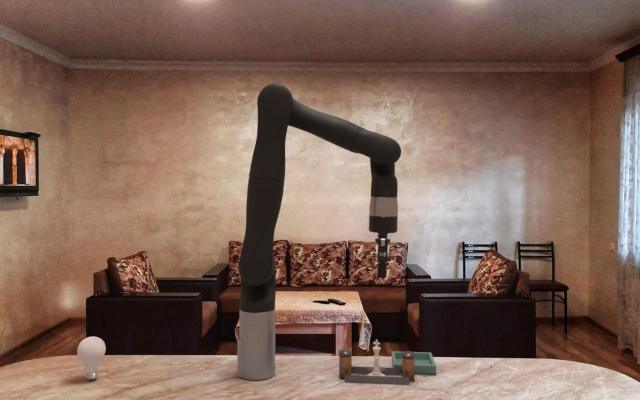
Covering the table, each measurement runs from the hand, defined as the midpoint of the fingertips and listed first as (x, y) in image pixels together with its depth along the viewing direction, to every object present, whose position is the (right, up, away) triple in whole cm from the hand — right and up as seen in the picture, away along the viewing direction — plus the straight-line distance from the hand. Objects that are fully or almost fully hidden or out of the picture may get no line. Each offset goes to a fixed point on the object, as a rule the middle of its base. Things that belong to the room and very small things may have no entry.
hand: (381, 275), depth 138 cm
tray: (+9, -26, +3) cm, 27 cm away
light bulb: (-74, -26, -6) cm, 79 cm away
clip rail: (-2, -26, -5) cm, 26 cm away
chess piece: (-2, -26, -5) cm, 27 cm away
